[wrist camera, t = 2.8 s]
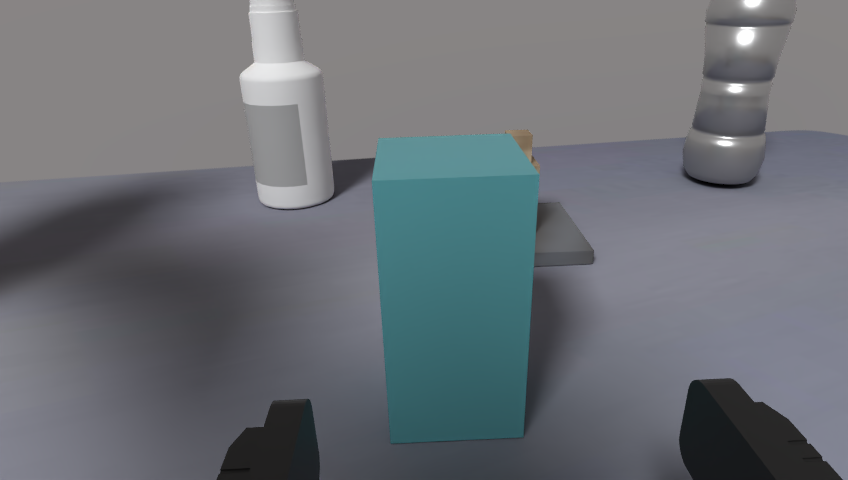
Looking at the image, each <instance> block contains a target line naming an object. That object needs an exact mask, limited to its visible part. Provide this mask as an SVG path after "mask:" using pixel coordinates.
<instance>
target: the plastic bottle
mask: <svg viewBox="0 0 848 480" xmlns="http://www.w3.org/2000/svg"><path fill="white" fill-rule="evenodd" d="M796 9H797V8H796V0H711V2H710V4H709V6H708V8H707V10H706V20H705V22H706V26H705V58H704V67H703V75H704V76H703V79H702V84H701V92H700V95H699V100H698V103H697V107H696V111H695V115H694V119H693V123H692V127H691V128H690V130H689V133H688V135H687V138H686V141H685V144H684V148H683V166H684V168H685V170H686V172H687V173H688V175H690V176H691V177H693V178H696V179H698V180H702V181H706V182H711V183H718V184H743V183H747V182H749V181H751V180H752V179H753V178H754V177H755V176H756V175H757V174H758V172H759V170H760V168H761V165H762V163H763V161H764V158H765V144H766V142H765V134H764V131H765V125H766V117H767V110H768V102H769V94H770V91H771V87H772V79H773V78H774V76H775V73H776V69H777V65H778V61H779V58H780V56H781V53H782V50H783V48H784V45H785V42H786V40H787V37H788V34H789V32H790V29H791V24H792V23H793V21H794V18H795V14H796V11H797V10H796Z"/></svg>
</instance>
